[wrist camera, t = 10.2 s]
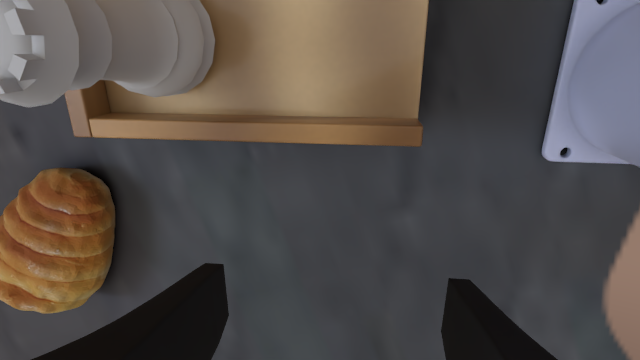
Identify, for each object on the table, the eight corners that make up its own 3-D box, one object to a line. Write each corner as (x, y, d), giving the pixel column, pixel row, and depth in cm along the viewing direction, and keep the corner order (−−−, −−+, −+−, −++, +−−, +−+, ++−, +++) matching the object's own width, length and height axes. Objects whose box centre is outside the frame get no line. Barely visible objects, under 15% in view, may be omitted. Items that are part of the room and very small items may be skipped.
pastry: (41, 139, 22) (-20, 158, 19) (144, 192, 23) (104, 220, 19) (13, 254, 25) (-44, 289, 22) (104, 298, 26) (63, 339, 22)
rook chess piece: (122, 92, 16) (-93, 135, 8) (104, -26, 14) (-180, -102, 7) (223, 97, 15) (92, 147, 8) (216, -24, 14) (45, -102, 6)
